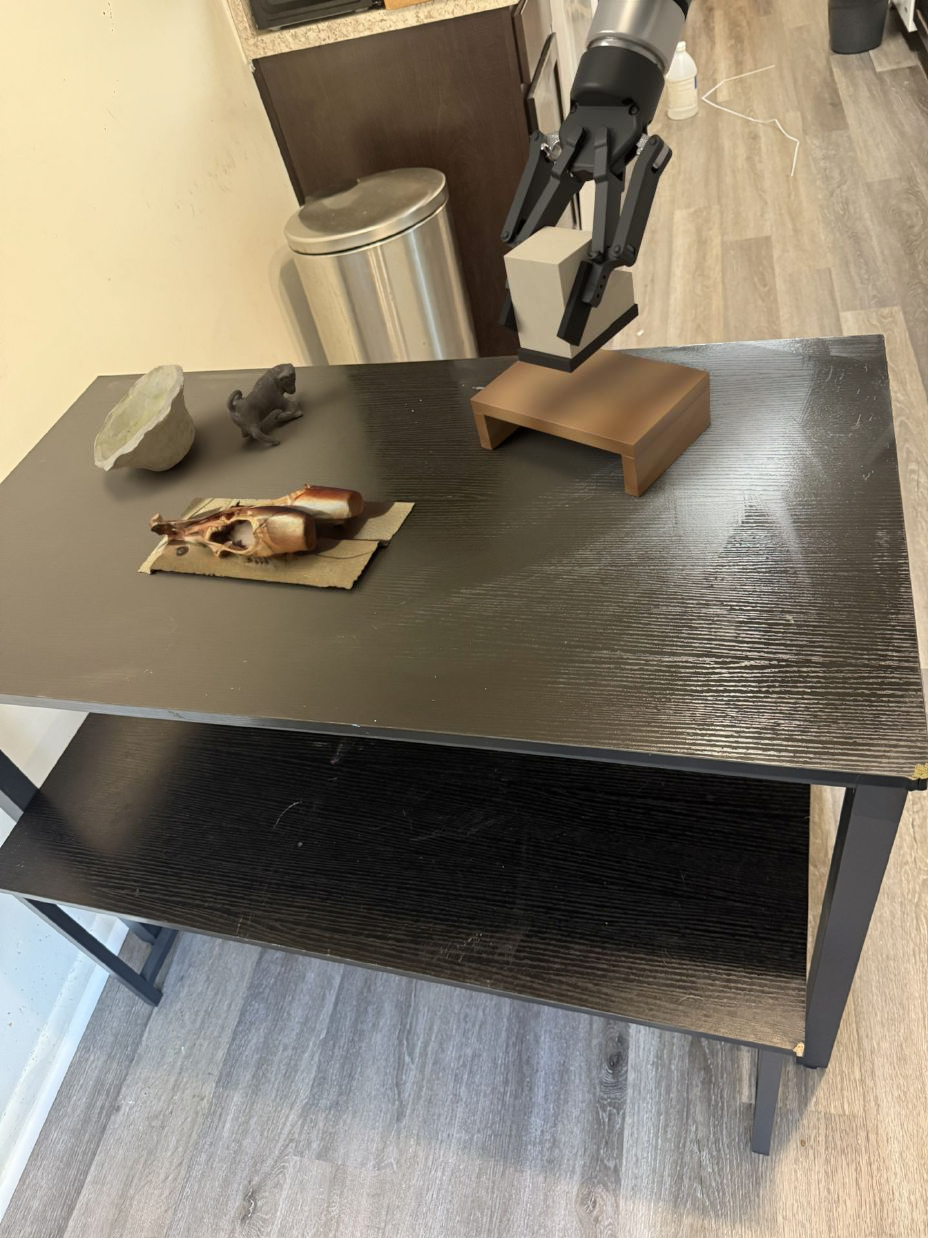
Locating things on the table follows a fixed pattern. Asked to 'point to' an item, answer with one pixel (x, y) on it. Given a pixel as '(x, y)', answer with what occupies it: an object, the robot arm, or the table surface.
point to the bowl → (147, 424)
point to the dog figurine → (265, 402)
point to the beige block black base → (561, 298)
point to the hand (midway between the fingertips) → (538, 334)
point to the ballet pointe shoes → (278, 536)
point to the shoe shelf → (603, 409)
